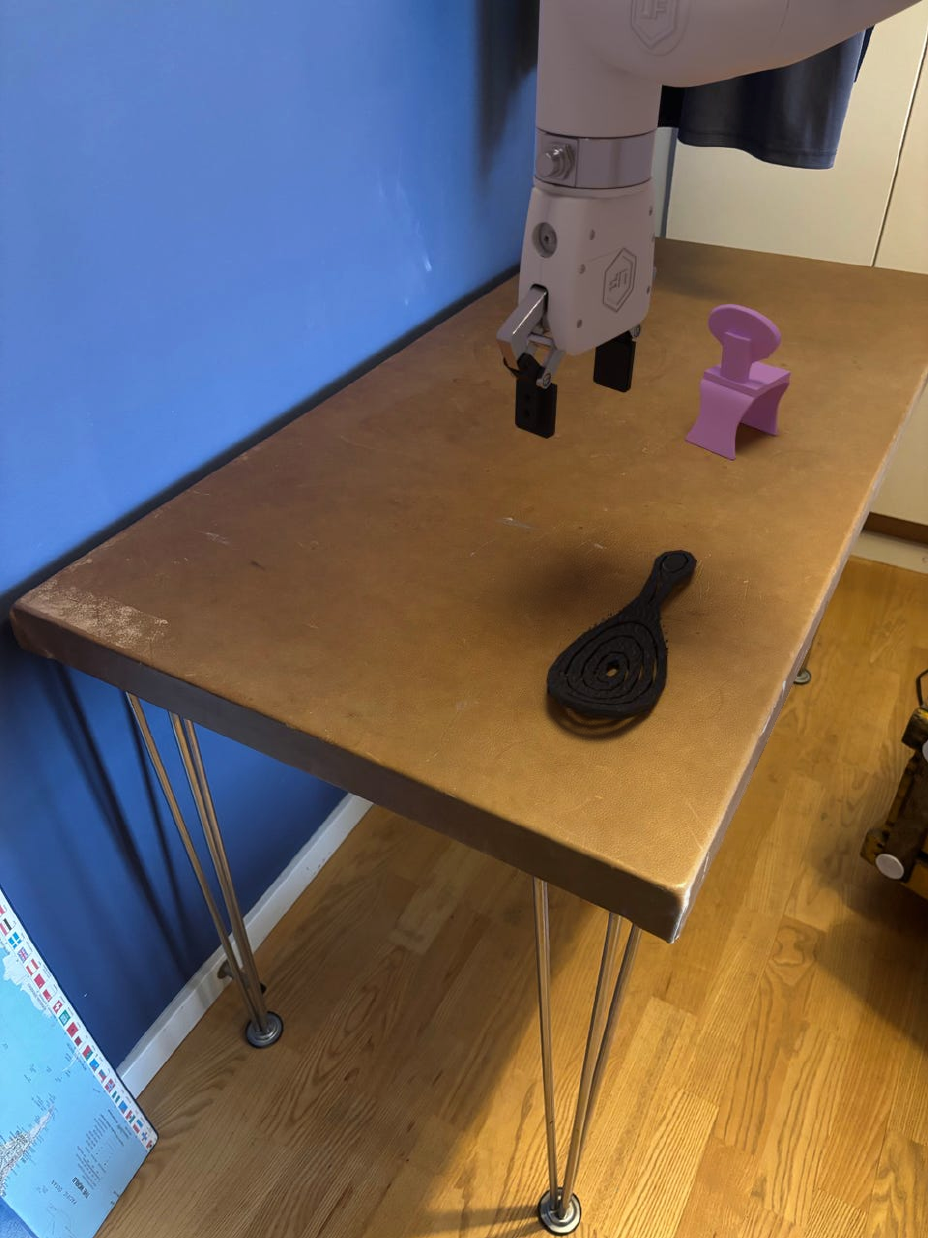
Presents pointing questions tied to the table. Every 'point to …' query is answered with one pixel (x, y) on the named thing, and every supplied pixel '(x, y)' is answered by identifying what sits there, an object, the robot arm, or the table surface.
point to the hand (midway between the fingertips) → (574, 408)
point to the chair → (739, 380)
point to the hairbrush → (621, 651)
